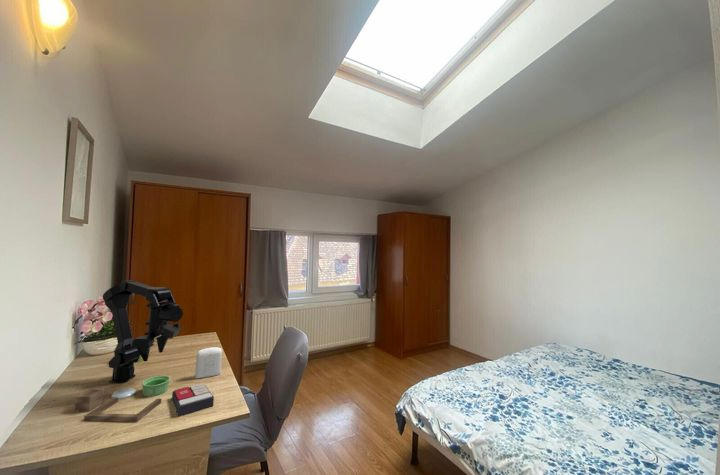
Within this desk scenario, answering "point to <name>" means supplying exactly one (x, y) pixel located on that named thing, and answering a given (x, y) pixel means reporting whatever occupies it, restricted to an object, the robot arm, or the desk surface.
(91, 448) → the desk surface
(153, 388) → the ramekin
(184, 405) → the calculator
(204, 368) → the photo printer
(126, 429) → the desk surface
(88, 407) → the walnut block
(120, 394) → the pale grey dome
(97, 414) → the bay
